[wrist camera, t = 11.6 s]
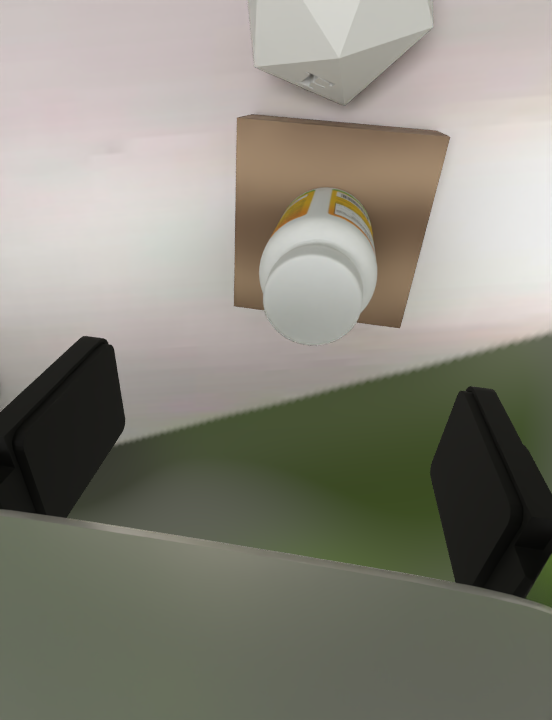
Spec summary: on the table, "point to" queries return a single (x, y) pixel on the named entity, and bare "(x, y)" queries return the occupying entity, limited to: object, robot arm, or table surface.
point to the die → (334, 40)
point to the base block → (345, 172)
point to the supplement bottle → (319, 267)
